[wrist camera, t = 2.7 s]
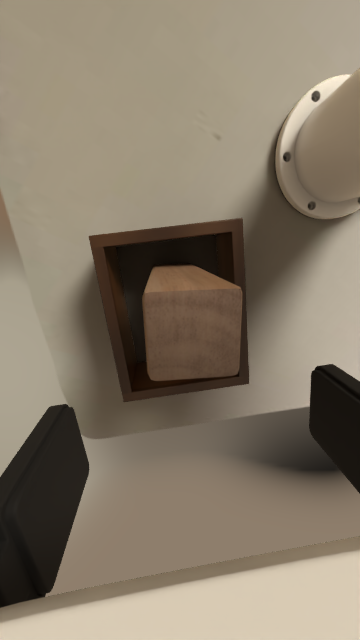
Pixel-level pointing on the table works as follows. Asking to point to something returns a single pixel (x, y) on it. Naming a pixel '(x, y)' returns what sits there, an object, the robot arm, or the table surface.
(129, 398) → the wooden box
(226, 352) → the wooden block
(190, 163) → the table surface
